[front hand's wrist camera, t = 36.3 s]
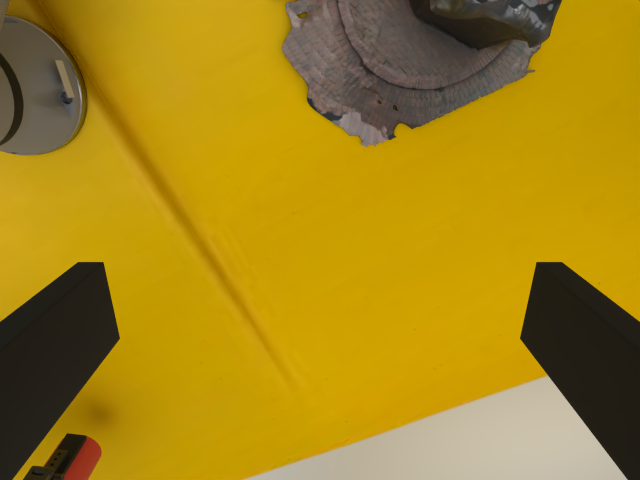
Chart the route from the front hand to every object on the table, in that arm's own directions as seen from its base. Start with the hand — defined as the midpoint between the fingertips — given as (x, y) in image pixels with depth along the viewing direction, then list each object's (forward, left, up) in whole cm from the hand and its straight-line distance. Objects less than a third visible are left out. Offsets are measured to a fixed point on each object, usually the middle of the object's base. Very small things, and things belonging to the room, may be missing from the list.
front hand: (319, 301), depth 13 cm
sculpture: (-6, +19, -41) cm, 45 cm away
